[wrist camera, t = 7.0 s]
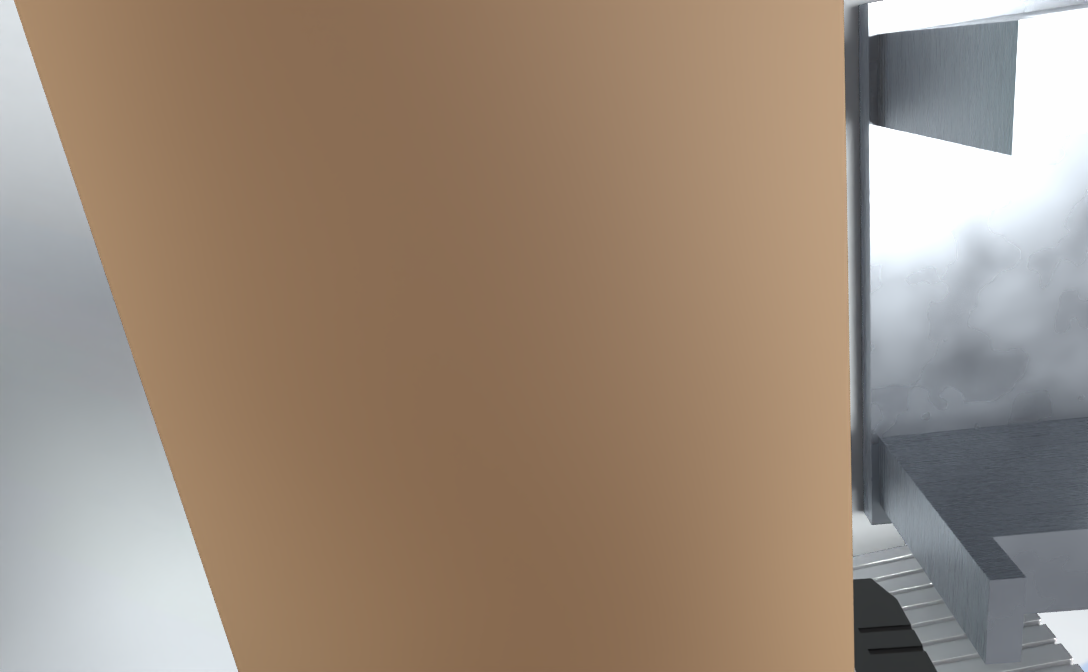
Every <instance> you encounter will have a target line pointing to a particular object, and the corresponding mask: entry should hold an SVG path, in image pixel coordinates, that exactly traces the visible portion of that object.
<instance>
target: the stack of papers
mask: <svg viewBox="0 0 1088 672" xmlns="http://www.w3.org/2000/svg"><path fill="white" fill-rule="evenodd" d="M866 578H871V579H873V580H874V581H875V582H876V583H878V584H879V585H880V586H881V587H883V588H884V589H885V590H886V591H888V592H889V593H890V594H891V595H893V596H894V597H895V598H896V599H897V600H898V602H899V604H900V605H901V607H902V609H903V611H904V613H905V614H906V616H907V618H908V620H909V622H910V623H911V627H912V630H914V631H915V632H916V634H917V636H918V638H919V640H920V641H921V643H922V645H923V649H924V651H926V652H927V654H928V656H929V658H930V659H931V661H932V663H933V665H934V667H935V668H936V670H937V672H1084V671H1083V670H1082V669H1081V667H1080V666H1079V665H1078V664H1075V665H1074V663H1073V658H1072V656H1071V655H1070V654H1069V653H1068V651H1067V650H1066V649H1065V648H1064V646H1063V645H1062V644H1061V643H1060V644H1057V638H1056V637H1055V635H1054V634H1053V633H1052V632H1051V630H1050V629H1049V628H1048V627H1047V625H1046V624H1043V625H1042V620H1041V618H1040V617H1039V616H1038V614H1037V613H1032V614H1024V622H1023V637H1022V651H1021V662H1015V663H1001V664H987V665H985V663H984V661H983V660H982V658H981V657H980V655H979V654H978V652H977V651H976V649H975V648H974V646H973V645H972V643H971V642H970V640H969V639H968V637H967V636H966V634H965V633H964V631H963V630H962V628H961V627H960V625H959V623H958V622H957V620H956V619H955V617H954V616H953V614H952V613H951V611H950V610H949V608H948V607H947V605H946V604H945V602H944V601H943V599H942V598H941V596H940V595H939V593H938V592H937V590H936V589H935V587H934V586H933V584H932V582H931V581H930V579H929V578H928V576H927V575H926V573H925V572H924V570H923V569H922V567H921V566H920V564H919V563H918V561H917V560H916V558H915V557H914V555H913V554H912V552H911V551H910V549H909V548H908V546H907V545H905V546H900V547H896V548H891V549H886V550H882V551H877V552H872V553H868V554H863V555H858V556H854V557H853V579H866Z"/></svg>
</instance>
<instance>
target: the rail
mask: <svg viewBox="0 0 1088 672" xmlns="http://www.w3.org/2000/svg"><path fill="white" fill-rule="evenodd" d="M14 2H15V5H16V8H17V11H18V14H19V17H20V20H21V23H22V26H23V29H24V32H25V35H26V38H27V41H28V44H29V47H30V50H31V53H32V56H33V59H34V62H35V65H36V68H37V71H38V74H39V77H40V80H41V83H42V86H43V89H44V92H45V95H46V98H47V101H48V104H49V107H50V110H51V113H52V116H53V119H54V122H55V125H56V128H57V130H58V133H59V136H60V139H61V142H62V145H63V148H64V151H65V154H66V157H67V160H68V163H69V166H70V169H71V172H72V175H73V178H74V181H75V184H76V187H77V190H78V193H79V196H80V199H81V202H82V205H83V208H84V211H85V214H86V217H87V220H88V223H89V226H90V229H91V232H92V235H93V238H94V241H95V244H96V247H97V250H98V253H99V256H100V259H101V262H102V265H103V268H104V271H105V274H106V277H107V280H108V283H109V286H110V289H111V292H112V295H113V298H114V301H115V304H116V307H117V310H118V313H119V316H120V319H121V322H122V325H123V328H124V331H125V334H126V337H127V340H128V343H129V346H130V349H131V352H132V355H133V358H134V361H135V364H136V367H137V370H138V373H139V376H140V379H141V382H142V385H143V388H144V391H145V394H146V397H147V400H148V403H149V406H150V409H151V412H152V415H153V418H154V421H155V424H156V427H157V430H158V433H159V436H160V439H161V441H162V444H163V447H164V450H165V453H166V456H167V459H168V462H169V465H170V468H171V471H172V474H173V477H174V480H175V483H176V486H177V489H178V492H179V495H180V498H181V501H182V504H183V507H184V510H185V513H186V516H187V519H188V522H189V525H190V528H191V531H192V534H193V537H194V540H195V543H196V546H197V549H198V552H199V555H200V558H201V561H202V564H203V567H204V570H205V573H206V576H207V579H208V582H209V585H210V588H211V591H212V594H213V597H214V600H215V603H216V606H217V609H218V612H219V615H220V618H221V621H222V624H223V627H224V630H225V633H226V636H227V639H228V642H229V645H230V648H231V651H232V654H233V657H234V660H235V663H236V666H237V669H238V672H854V611H853V549H852V488H851V426H850V365H849V303H848V242H847V180H846V119H845V57H844V0H14Z"/></svg>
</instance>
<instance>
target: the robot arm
mask: <svg viewBox="0 0 1088 672" xmlns="http://www.w3.org/2000/svg"><path fill="white" fill-rule="evenodd" d="M853 611H854V672H937V670H936V668H935V667H934V665H933V663H932V661H931V659H930V658H929V656H928V654H927V652H926V651H924V649H923V645H922V643H921V641H920V640H919V638H918V636H917V634H916V632H915V631H914V630H912V627H911V623H910V622H909V620H908V618H907V616H906V614H905V613H904V611H903V609H902V607H901V605H900V604H899V602H898V600H897V599H896V598H895V597H894V596H893V595H891V594H890V593H889V592H888V591H886V590H885V589H884V588H883V587H881V586H880V585H879V584H878V583H876V582H875V581H874V580H873V579H871V578H866V579H853Z"/></svg>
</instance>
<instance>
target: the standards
mask: <svg viewBox="0 0 1088 672" xmlns="http://www.w3.org/2000/svg"><path fill="white" fill-rule="evenodd" d="M859 85H860V184H861V282H862V380H863V478H864V513H865V515H866V516H867V518H868V519H869V521H870V523H871V524H872V525H878V524H889V523H893V525H894V526H895V528H896V529H897V531H898V532H899V534H900V535H901V537H902V538H903V540H904V541H905V543H906V544H907V546H908V548H909V549H910V551H911V552H912V554H913V555H914V557H915V558H916V560H917V561H918V563H919V564H920V566H921V567H922V569H923V570H924V572H925V573H926V575H927V576H928V578H929V579H930V581H931V582H932V584H933V586H934V587H935V589H936V590H937V592H938V593H939V595H940V596H941V598H942V599H943V601H944V602H945V604H946V605H947V607H948V608H949V610H950V611H951V613H952V614H953V616H954V617H955V619H956V620H957V622H958V623H959V625H960V627H961V628H962V630H963V631H964V633H965V634H966V636H967V637H968V639H969V640H970V642H971V643H972V645H973V646H974V648H975V649H976V651H977V652H978V654H979V655H980V657H981V658H982V660H983V661H984V663H985V665H987V664H1001V663H1015V662H1021V651H1022V637H1023V622H1024V614H1032V613H1045V612H1058V611H1071V610H1084V609H1088V0H887V1H880V2H874V3H867V4H863V5H859Z"/></svg>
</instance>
